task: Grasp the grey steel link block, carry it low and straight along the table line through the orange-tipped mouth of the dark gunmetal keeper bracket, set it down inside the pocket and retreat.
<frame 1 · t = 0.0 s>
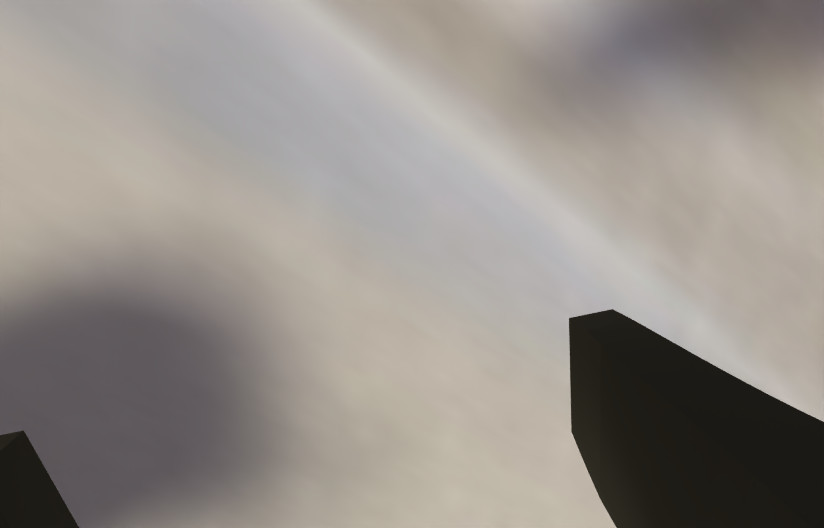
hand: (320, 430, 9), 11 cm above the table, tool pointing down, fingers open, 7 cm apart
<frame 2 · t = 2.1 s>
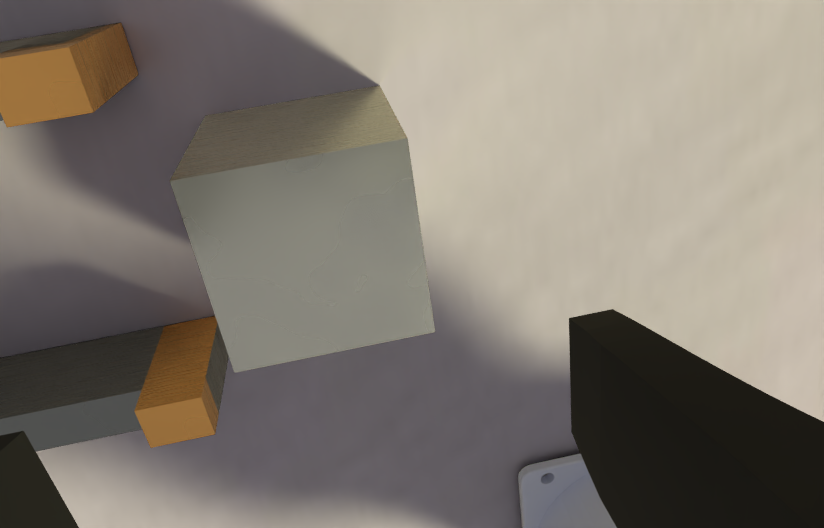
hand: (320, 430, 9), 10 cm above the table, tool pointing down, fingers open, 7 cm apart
link block: (311, 181, 17), on the table
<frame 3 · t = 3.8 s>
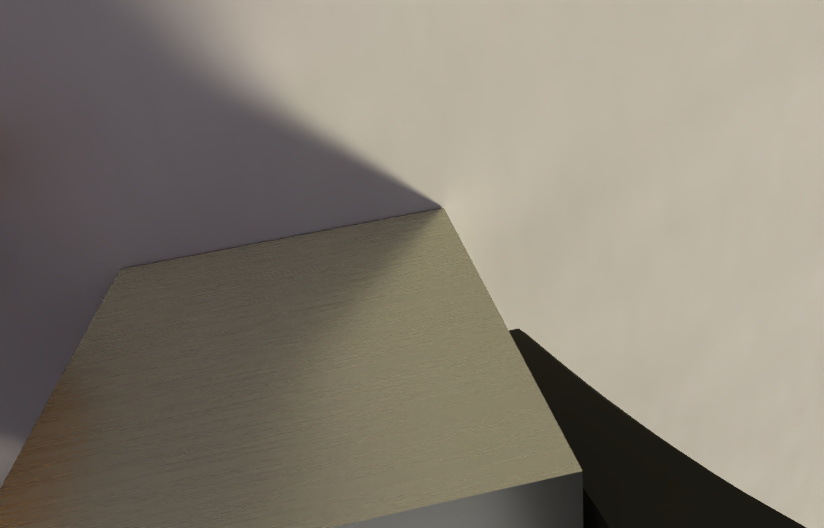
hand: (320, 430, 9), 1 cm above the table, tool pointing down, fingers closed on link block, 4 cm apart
link block: (318, 367, 10), on the table, touching gripper
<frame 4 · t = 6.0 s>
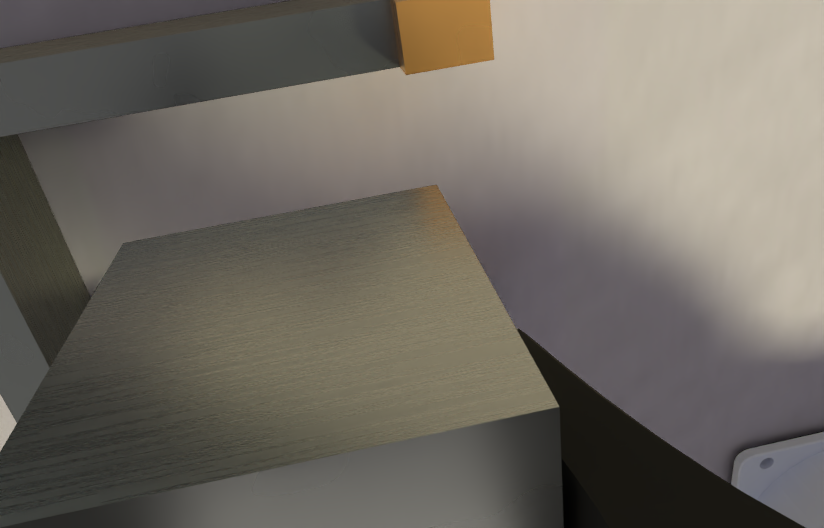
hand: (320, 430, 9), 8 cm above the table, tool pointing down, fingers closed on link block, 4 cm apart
keeper: (68, 248, 16), on the table
link block: (315, 341, 10), point 7 cm above the table, touching gripper
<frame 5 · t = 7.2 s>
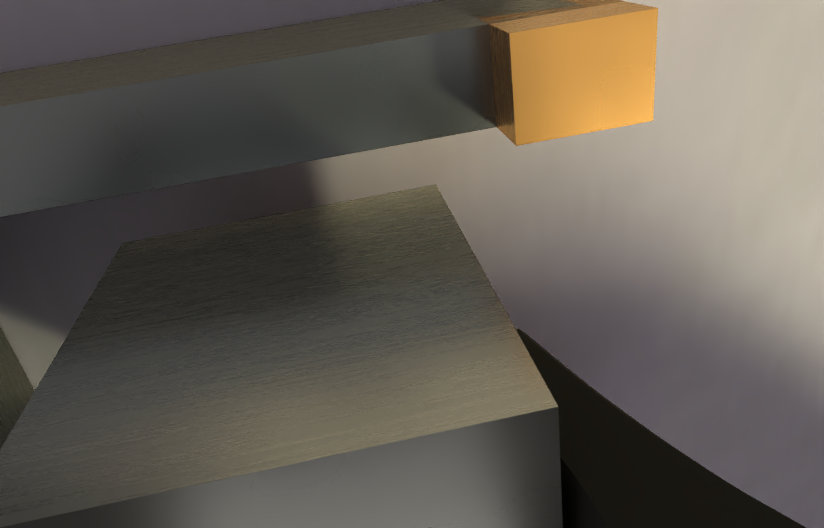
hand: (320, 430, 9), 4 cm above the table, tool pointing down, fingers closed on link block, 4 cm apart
keeper: (14, 353, 11), on the table
link block: (314, 341, 10), point 2 cm above the table, touching gripper
when the fingers open (3 cm above the table, at t = 8.3 s): link block drops 1 cm, on the table.
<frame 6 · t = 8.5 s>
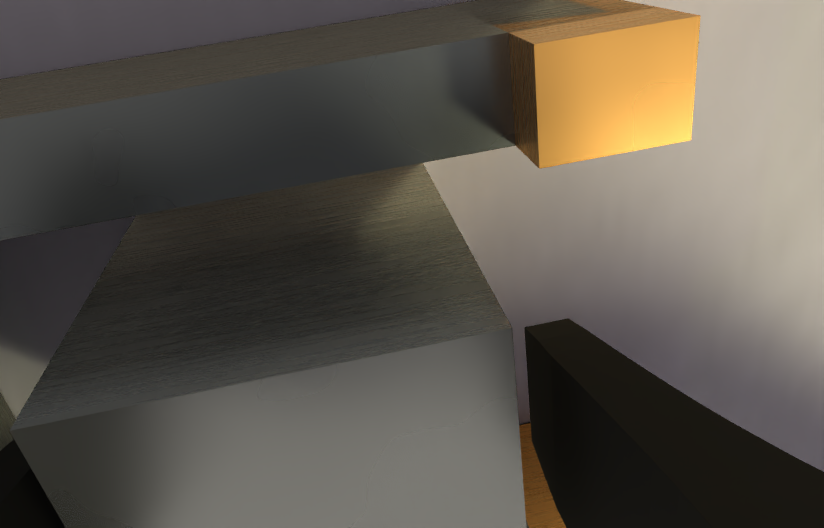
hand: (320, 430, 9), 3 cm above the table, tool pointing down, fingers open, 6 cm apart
link block: (311, 304, 11), on the table
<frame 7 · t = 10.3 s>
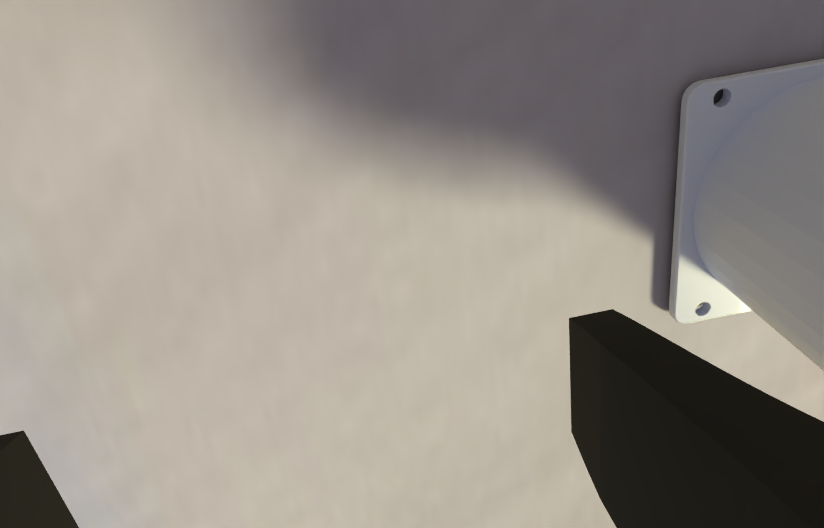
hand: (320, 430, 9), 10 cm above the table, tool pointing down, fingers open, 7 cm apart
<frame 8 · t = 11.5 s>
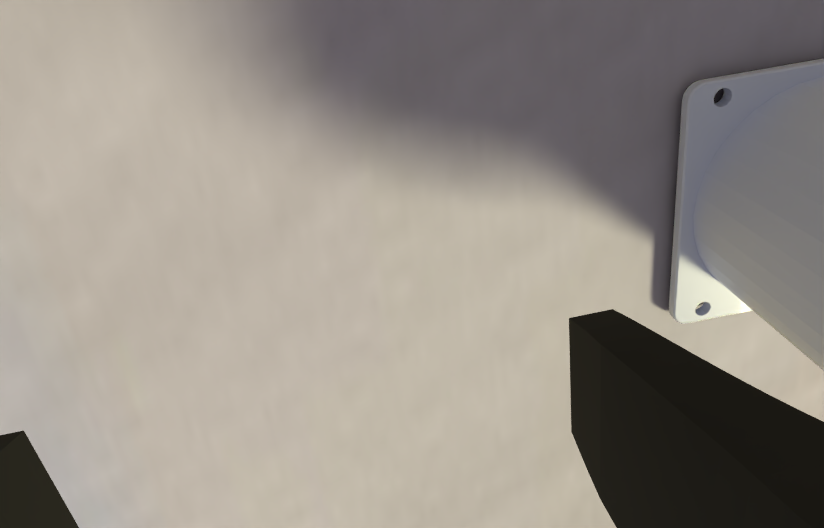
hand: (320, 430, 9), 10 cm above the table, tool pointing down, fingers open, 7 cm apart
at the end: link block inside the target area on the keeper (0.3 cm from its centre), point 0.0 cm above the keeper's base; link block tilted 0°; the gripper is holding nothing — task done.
